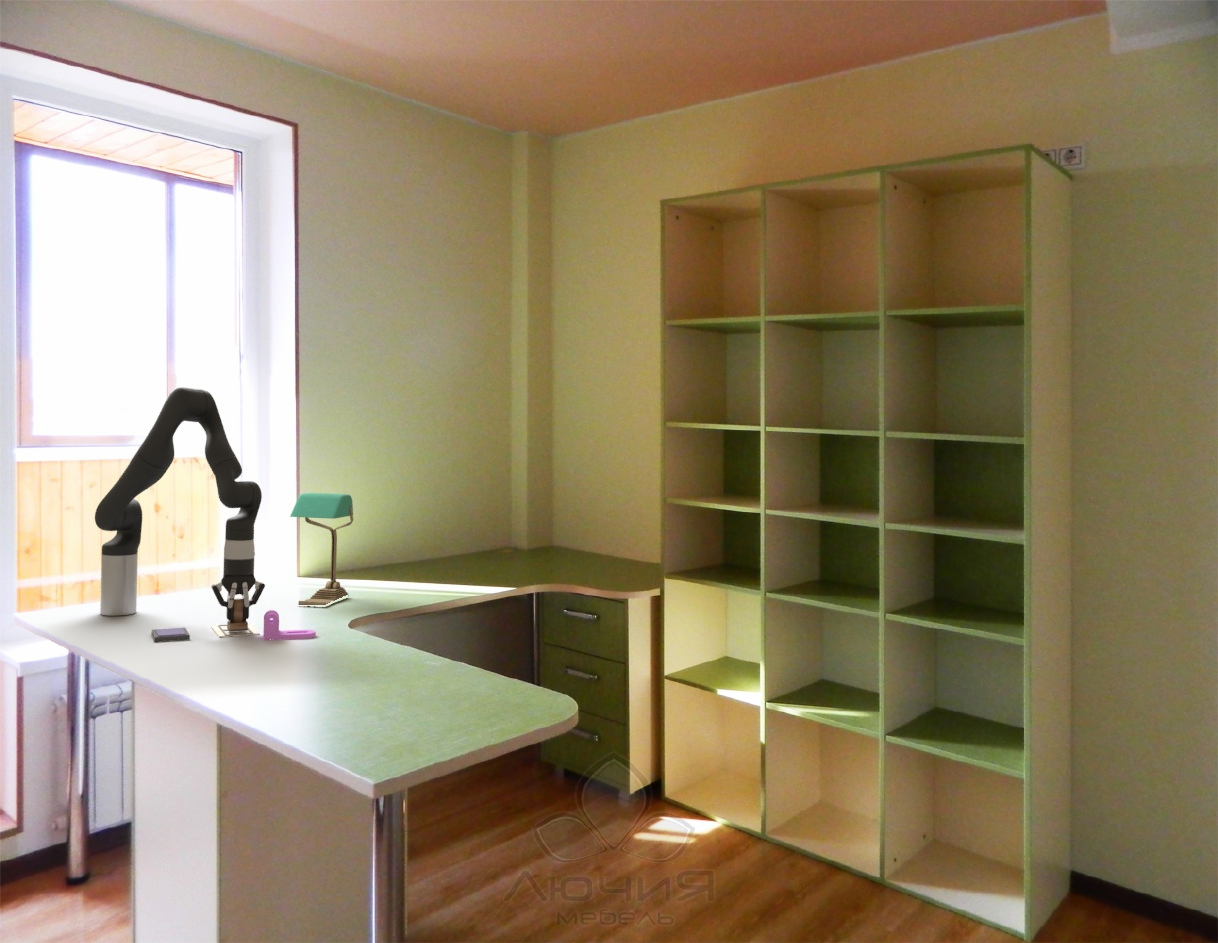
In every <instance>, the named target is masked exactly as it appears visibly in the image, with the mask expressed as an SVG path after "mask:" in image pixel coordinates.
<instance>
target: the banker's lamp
mask: <svg viewBox="0 0 1218 943" xmlns="http://www.w3.org/2000/svg"><path fill="white" fill-rule="evenodd" d="M353 505H354V504H353V498H352V496H351V495H350V494H345V493H327V492H326V493H325V492H324V493H322V492H304V493H302V494H300V495H299V496H298V497H297V499H296V502H295V505H294V506H293V509H292V511H291V513H290V515H289V516H290V517H291V518H304V520H305V522H306V524H310V525H313V526H316V527H318V528H319V527H320V528H323V529H326V530H329V531H330V533H331V534H330V535H331V549H330V550H331V554H330V581H327V582H326V584H325V587H323V588H320V589H318V590H317V591H316V592H315V593H314V594H313V595H311V597H310V598H308V599H305V600H298V605H326V604H328V603H330V602H331V601H335V600H337V599H339V598H342V597H343V596H346V595H348V596H349V593H348V592H347V591H346V589H345V588H344V587H343V586H341V583H340V581H337V555H338V554H337V551H338V550H337V548H338V545H337V544H338V543H337V542H338V534H337V530H339V529H342V528H345V527H349V526H351V525H352V524H353V522H354V506H353ZM346 517H349V519H350V520H349V522H346V523H344V524H342V525H339V526H336V528H334V529H333V528H332V527H331V526H328V525H326V524H323V523H320V522H318V521H314V520H312V518H313V519H332V520H333V519H340V518H346Z"/></svg>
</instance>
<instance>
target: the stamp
mask: <svg viewBox="0 0 1218 943" xmlns="http://www.w3.org/2000/svg"><path fill="white" fill-rule="evenodd" d="M243 611H244V599H242V598H234V601H233V622H229V620H227V623H226V625H227V629H228V630H229V632H231V631H247V630H248V624H249V623H248V621H247V620H246V621H243Z"/></svg>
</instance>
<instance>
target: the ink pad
mask: <svg viewBox="0 0 1218 943" xmlns="http://www.w3.org/2000/svg"><path fill="white" fill-rule="evenodd" d="M152 636H153V637H152ZM190 636H191V634H190V633H189V631H188V629H187V628H186V627H172V628H171V627H170V628H159V629H157V628H156V629H155V628H154V629H151V637H152V639H153V638H154V639H153V640H154V643H158V642H157V641H162V642H172V641H171V640H176V641H186V640H187V639H190V640H191V638H190ZM185 639H186V640H185ZM169 640H170V641H169ZM187 641H188V640H187Z"/></svg>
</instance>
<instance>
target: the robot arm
mask: <svg viewBox="0 0 1218 943" xmlns="http://www.w3.org/2000/svg"><path fill="white" fill-rule="evenodd" d="M184 422H192V423H199V425H200V426H201V428H202V429H203V432H204V433H205V435H206V441H205V445H204V455H205V459H206V462H207V464H208V466H209V467H210V469H211V471H212V473H213V475H214V477H215V483H216V487H217V496H218V498H219V501H220V503H222V504H221V505H223V506H225V507H226V508H229V509H239V510H238V513H237V514H236V515H234V516H232V517H229V518H227V519H226V522H225V533H224V534H225V538H224V547H223V575H222V578H221V580H220V582H218V583H216V584H212V585H211V589H212V591H213V594H214V595H215V598H216V599H217V602H218V604H219V605H220V606H221V607H225V608H226V620H227V621H229V622H233V601H234V599H236V598H235V596H237V595H240V596H241V599H244V611H243V621H247V620H248V619H249V617H250V607H251V606H253V605H256V604H257V603H258V601H259V599H260V597H261V595H262V594H263V591H264V589H265V587H266V584H265V583H263V582H260V581H258V580H256V578H255V575H254V574H255V555H256V553H255V542H254V541H255V523H256V520H257V516H258V512H259V510H260V507H261V502H262V498H263V496H262V494H263V493H262V489H261V488H260V485H259V484H258V483H256V482H255V481H252V480H251V481H250V480H248V481H246V480H245V481H236V480H237V479H239V478H240V476H242V473H243V468H242V466H241V464H240V462H239V459H238V457H237V456H236V454H235V452H234V450H233V449H232V447H231V444H230V442H229V440H228V437H227V433H226V431H225V427H224V425H223V422H222V418H221V415H220V411H219V409H218V406H217V404H216V401H215V398H214V397H213V395H212V393H210V392H209V391H207V390H205V389H199V388H193V387H187V386H179V387H176V388H174V389H172V391H171V392H170V393H169V395H168V396H167V398H166V400H165V402H164V404H163V405H162V408H161V410H160V412H159V414H158V416H157V419H156V420H155V422H154V424H153V426H152V428H151V429H150V430H149V432H148V433H147V436H146V437H145V439H144V441H143V442H142V443H141V444H140V446H139V447H138V449H137V451H135V454H134V455H133V457H132V459H131V460H130V462H129V464H128V465H127V466H126V468H125V470H124V471H123V472H122V474H121V475H120V476H119V478H118V480H117V481H116V483H115V484H114V485H113V486H112V488H110V489H109V491H108V492H107V494H106V495H105V496H104V497H103V498H102V499H101V501H100V502H99V503H98V505H97V507H96V509H95V513H94V521H95V524H96V526H97V528H98V529H100V530H101V531H106V532H116V534H115V535H114V537H113V538H111V539H110V540H108V541H107V542H105V543H103V544H102V546H101V558H100V559H101V566H100V567H101V569H100V570H101V571H100V572H101V573H100V605H99V606H100V609H99V610H100V612H99V613H100V615H102V616H113V617H115V616H128V615H133V614H136V613H137V606H138V603H137V600H138V599H137V598H138V559H139V558H138V556H139V555H138V551H139V547H140V545H141V540H142V527H143V509H142V506H141V504H140V502H139V501H138V500H136V499H135V498H136V497H137V496H139V495H140V494H141V493H143V492H144V491H146V490H148V489H149V488H151V487H152V486H153V485H155V484H156V483H157V482H159V481H160V480H161V479H162V478H163V477H164V475H165V474H166V472H167V471H168V469H169V468H170V467H171V465H172V463H173V461H174V459H175V446H174V435H175V433H176V432H177V430H178V428H179V427H180V425H181V424H182V423H184ZM253 586H254V587H253ZM222 587H223V588H224V589H225V590H226V591H227V596H226V597H227V599H226V601H225V600H224V598H223V594H222V593H221V592H222ZM252 588H254V589H255V591H254V592H253V595H252V596H251V599H250V598H249V597H250V596H249V592H250V590H251V589H252Z"/></svg>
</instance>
